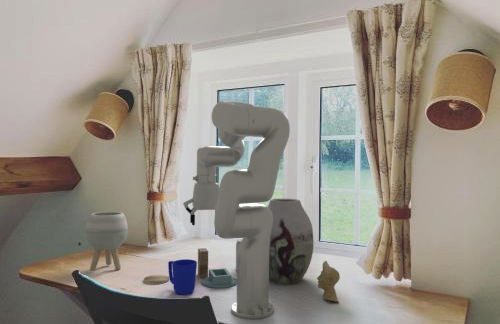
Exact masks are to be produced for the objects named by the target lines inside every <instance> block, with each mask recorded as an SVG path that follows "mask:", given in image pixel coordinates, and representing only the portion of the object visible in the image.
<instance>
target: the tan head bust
mask: <svg viewBox="0 0 500 324" xmlns="http://www.w3.org/2000/svg"><path fill="white" fill-rule="evenodd" d="M339 272H340V271H338V270H337V269H336V268H334V267H332V266H330V264H329V263H328V261H327V260H324V261H323V262H322V270H321V272H320V274H319V275H318V276H317V278H316V280H318V281H317V287H318V289H322V290H323V291H324V292H323V294H322V298H323V299H324V300H327V301H331V302H335V303H340V301H339V299H338V296H337V292H336V289H335V286H336V284H337V283H339V281H340V279H341V278H340V276H341V275H340V273H339Z"/></svg>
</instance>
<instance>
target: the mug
mask: <svg viewBox="0 0 500 324" xmlns="http://www.w3.org/2000/svg"><path fill="white" fill-rule="evenodd" d="M167 264H168V266H167V267H168V276H169V282H170V283H171V284H172V285H173V290H174V292H175V294H176V295H177V294H178V295H189V294H191V293H193V292H194V291H195V287H196V279H197V278H196V276H197V269H198V261H197V260H194V259H187V258H185V259H178V260H169V261H168V262H167Z"/></svg>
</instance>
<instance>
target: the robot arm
mask: <svg viewBox="0 0 500 324" xmlns="http://www.w3.org/2000/svg"><path fill="white" fill-rule="evenodd" d="M211 123H212V125H213V126H214V127H215V128H216V129H218V132H217V135H218V138H219V140H220V142H221V143H222V144H224V146H220V145H217V146H216V145H214V146H213V145H212V146H211V145H207V146H203V147H199V148H198V149H197V150H196V175H195V176H192V181H196V182H195V183H194V186H193V191H192V192H193V193H192V197H191V198H190V199H188V200H186V201H185V202H182V204H183V206H184V208H185V210H186V211H187V213H189V215H190V217H189V218H190V219H189V220H190V221H189V222H190V224H191V226H195V225H196V215H195V213H196V212H197V211H212V210H214V211H215V212H214V213H215V214H214V221H213V223H214V224H213V226H214V231H215V233H216V235H217V236H218V237H219V238H220V239H225V240H230V239H242V241H241V243H240V245H239V247H238V251H237V268H236V279H237V284H236V302H234V303H232V305H230V306H231V307H230V309H231V310H230V311H231V313H232V314H233V315H234V316H236V317H238V318H243V319H249V320H258V319H259V320H260V319H265V318H267V317H270V316H271V315H273V314H274V312H275V311H274V309H275V308H274V305H273V304H272V303H270V302H269V301H270V300H269V299H270V297H269V291H270V289H269V288H270V280H269V246H270V236H271V231H272V226H273V214H272V212H271V210H270V209H269V208H268V205H264V204H261V203H266V202H270V200H271V199H273V196H274V193H275V189H276V184H277V180H278V173H279V171H280V170H279V168H280V164H281V160H282V157H283V153H284V151H285V149H286V146H287V144H288V142H289V138H290V133H291V132H290V131H291V130H290V129H291V128H290V122H289V118H288V117H287V115H286V113H284V112H283V111H282V110H280V109H276V108H272V107H264V106H255V105H254V104H251V103H249V102H244V101H232V100H220V101H217V103H216V104H215V105H214V107H213V108H212V111H211ZM246 137H251V138H255V137H256V138H257V137H258V138H259V137H260V138H262V140H260V141H259V143H258V144H256V146H255V147H254V149H253V150H252V151H251V154H250V158H249V164H248V167H247V168H246V169H230V170H228V171H226V172H225V173H224V174H223V175H222V177H221V179H220V183H218V182H217V168H233V167H234V166H235V165H237V164H238V163H239V162H240V161H241V160H242V158H243V156H244V153H245V142H244V139H245V138H246ZM191 204H192V208H190V207H189V205H191Z"/></svg>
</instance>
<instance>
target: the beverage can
mask: <svg viewBox="0 0 500 324" xmlns="http://www.w3.org/2000/svg"><path fill="white" fill-rule="evenodd" d="M242 239H243V238H238V239H237V240H236V243H235V269H237V251H238V247H239V245H240V243H241V241H242Z"/></svg>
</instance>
